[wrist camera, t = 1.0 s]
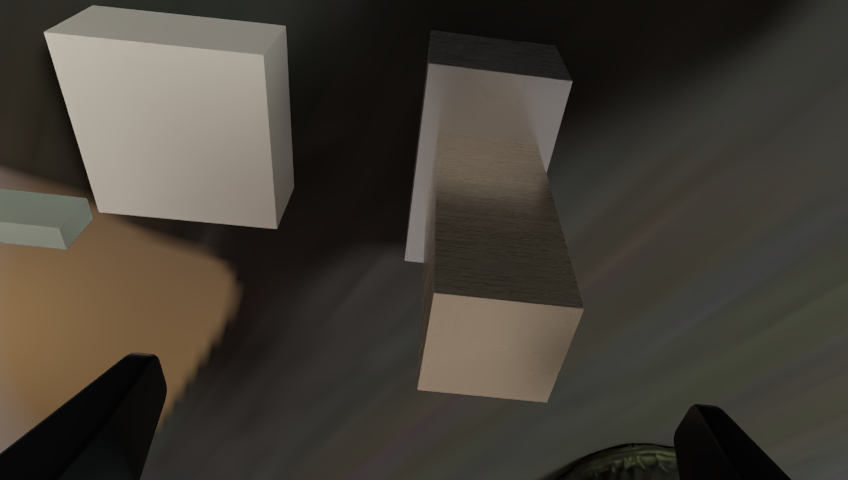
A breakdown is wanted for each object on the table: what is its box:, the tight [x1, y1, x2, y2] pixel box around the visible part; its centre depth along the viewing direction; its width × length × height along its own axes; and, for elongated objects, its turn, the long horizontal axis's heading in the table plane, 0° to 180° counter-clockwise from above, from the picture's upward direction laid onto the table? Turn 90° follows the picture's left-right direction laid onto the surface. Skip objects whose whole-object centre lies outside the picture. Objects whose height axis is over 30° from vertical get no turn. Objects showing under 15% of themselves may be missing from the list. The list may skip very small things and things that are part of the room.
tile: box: [44, 5, 294, 229], centre depth 19 cm, size 6×6×3 cm
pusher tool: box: [405, 30, 584, 402], centre depth 16 cm, size 4×7×10 cm, turn 173°
